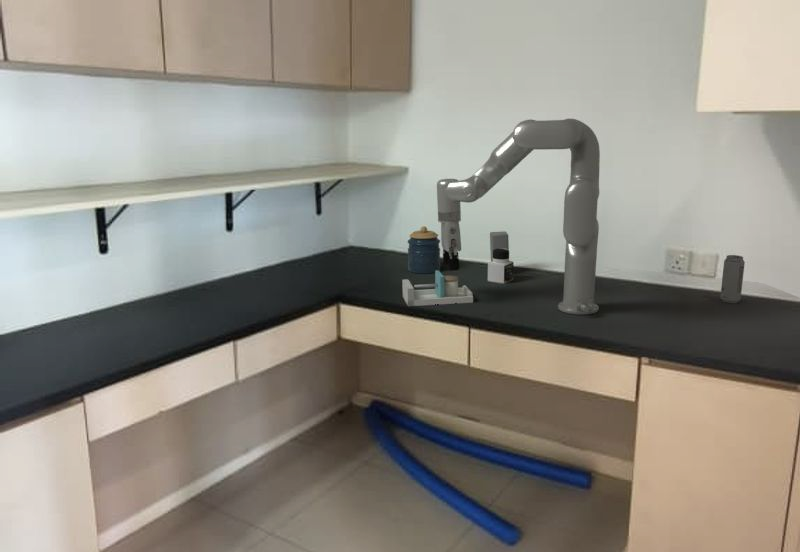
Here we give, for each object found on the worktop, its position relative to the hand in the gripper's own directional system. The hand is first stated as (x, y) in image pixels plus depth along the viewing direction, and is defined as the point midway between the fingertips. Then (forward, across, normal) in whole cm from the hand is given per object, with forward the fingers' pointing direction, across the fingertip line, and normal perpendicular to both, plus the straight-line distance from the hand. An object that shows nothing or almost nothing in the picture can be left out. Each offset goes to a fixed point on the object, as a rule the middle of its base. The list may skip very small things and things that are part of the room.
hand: (451, 267), depth 231 cm
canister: (+11, +43, +2) cm, 44 cm away
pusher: (+10, +1, +8) cm, 13 cm away
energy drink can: (+15, -20, -89) cm, 92 cm away
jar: (+11, 0, +1) cm, 11 cm away
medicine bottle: (+12, +21, -23) cm, 33 cm away
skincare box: (+12, +33, -26) cm, 43 cm away
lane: (+11, +1, +5) cm, 12 cm away
